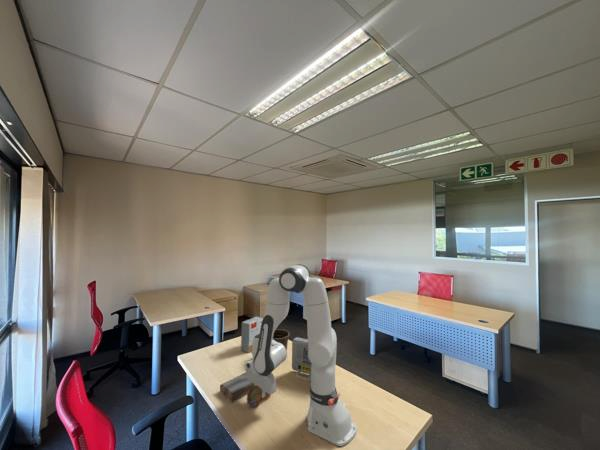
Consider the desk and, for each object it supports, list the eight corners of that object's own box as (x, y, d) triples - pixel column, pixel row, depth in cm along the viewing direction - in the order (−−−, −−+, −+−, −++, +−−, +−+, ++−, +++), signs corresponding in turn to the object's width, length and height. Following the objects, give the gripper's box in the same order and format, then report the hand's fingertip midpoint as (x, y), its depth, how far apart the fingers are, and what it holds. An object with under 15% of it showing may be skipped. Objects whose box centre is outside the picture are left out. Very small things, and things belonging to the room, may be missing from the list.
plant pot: (273, 350, 178) (273, 327, 178) (293, 355, 170) (293, 331, 171) (260, 360, 163) (260, 335, 163) (281, 366, 156) (281, 340, 156)
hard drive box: (248, 353, 172) (248, 324, 173) (240, 350, 176) (241, 322, 177) (263, 345, 185) (263, 318, 186) (255, 342, 189) (256, 316, 190)
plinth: (264, 384, 137) (264, 377, 137) (232, 402, 122) (232, 394, 122) (251, 376, 145) (251, 369, 145) (220, 391, 130) (220, 384, 130)
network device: (335, 378, 144) (335, 343, 144) (331, 386, 136) (331, 349, 136) (296, 367, 154) (296, 335, 155) (289, 375, 146) (290, 340, 147)
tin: (249, 410, 117) (249, 392, 117) (245, 407, 119) (246, 389, 119) (273, 395, 128) (274, 379, 128) (269, 392, 130) (270, 376, 130)
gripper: (279, 372, 119) (279, 401, 119) (253, 357, 133) (253, 383, 133) (269, 377, 115) (268, 408, 114) (243, 361, 128) (243, 388, 128)
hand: (260, 394), depth 123 cm, fingers closed on tin, 2 cm apart
